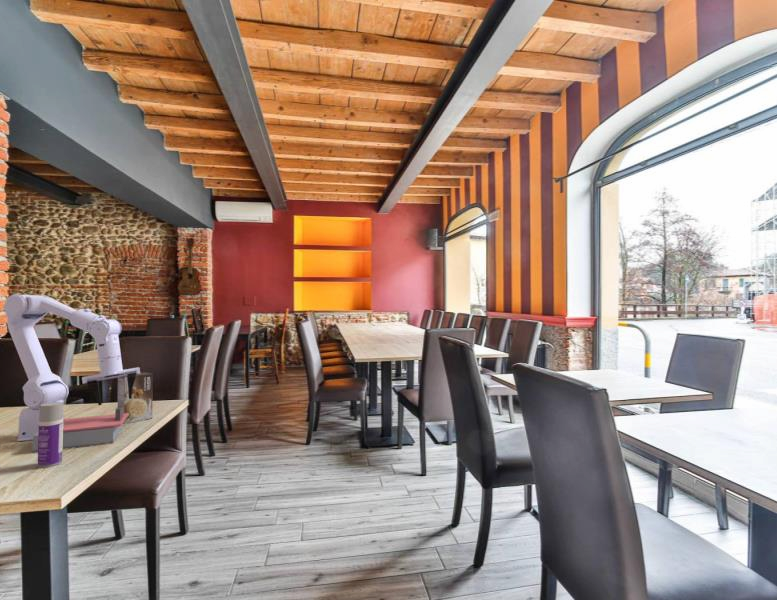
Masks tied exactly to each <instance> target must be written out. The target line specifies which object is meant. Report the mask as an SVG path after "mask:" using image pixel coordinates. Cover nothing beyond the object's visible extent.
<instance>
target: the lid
mask: <svg viewBox="0 0 777 600" xmlns="http://www.w3.org/2000/svg"><path fill="white" fill-rule="evenodd" d="M128 415H129V413H124V414H123V406H118V405H117V407H116V408H115V414H104V415H93V416H82V417H71V418H63V432H68V431H78V430H87V429H97V428H107V427H116V426H121V425H122V426H123V425H124V424H123V422H124V421H125V419H126V418H127V416H128Z"/></svg>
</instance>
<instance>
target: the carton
mask: <svg viewBox="0 0 777 600" xmlns="http://www.w3.org/2000/svg"><path fill="white" fill-rule="evenodd" d="M122 430H123V424H122V425H121V426H116V427H107V428H97V429H87V430H78V431H68V432H63V450H65V448H68V449H73V448H72V447H76V448H80V447H79V446H84V447H90V445H93V446H98V445H97V444H101V445H106V444H105V443H110V444H114V442H115V441H114V440H116V439H117V437H118V436H119V435H120V433H121V432H122ZM38 433H39V432H38ZM38 433H36V434H35V435H34V436H33V440H32V453H38Z"/></svg>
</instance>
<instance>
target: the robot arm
mask: <svg viewBox="0 0 777 600" xmlns="http://www.w3.org/2000/svg"><path fill="white" fill-rule="evenodd" d="M2 305H3V306H2V308H3V311H4V313H5V315H6V318H7V320H6V321H7V323H6V324H7V329H8V332H9V334H10V336H11V339H12V341H13V344H14V347H15V349H16V351H17V354H18V356H19V359H20V361H21V364H22V366H23V369H24V372H25V374H26V377H27V379H28V380H27V381H26V383H24V385H23V386H22V391H23V402H24V404H25V406H27V407H26V408H23V409H21V411H20V414H19V418H18V434H17V435H18V437H17V439H16V440H17V442H23V441H33V436H34V435H35V434H36V433H38V432H39V414H40V405H41V404H45V403H50V402H63V404H64V401H65V400H66V399H67V397H68V396H69V387H68V386H67V385H66V383H64V381H63V380H62V378H61V377H60V376H59V375H57V374H55V373H53V372H52V371H51V370H52V369H51V368H50V366H49V363H48V360H47V358H46V356H45V353H44V350H43V348H42V346H41V343H40V341H39V338H38V335H37V334H36V331H35V328H34V326H36V324H37V323H39V322H40V321H41V320H42V319H43V318H44V317H46V315H47V314H48V313H50V314H53V315H55V316H57V317H60V318H64V319H67V320H69V322H70V324H71V326H73V327H75V328H78V329H80V330H82V331H85V332H87V333H89V334H90V336H91V337H92V338H93V339H94V343H95V344H96V351H97V359H98V366H99V373H98V374H91V375H87V376H82V377H81V381H82V382H81V383H82V384H83V385H84V384H87V387H88V388H89V389H90V390H91V392H92V393H93V395H94V397H95V399H96V401H97V404H98V406H102V405H103V403H102V402H103V401H102V398H101V393H100V383H99V381H105V380H111V379H116V378H118V377H122V376H127V375H128V376H127V381H128V389H129V399H132V389H133V385H134V381H135V379H136V374H139V373H141V370H140V369H141V368H140V367H132V368H128V369H127V368H125V369H123V368H124V367H123V363H122V362H123V361H122V353H121V346H120V338H119V336H120V334H121V333H122V329H123V328H122V324H121V323H120V321H118V320H117V319H115V318H109V319H107V318H106V316H105V315H102V314H101V315H99V314H96V313H94V312H92V309H90V308H81V309H77V310H76V309H75V308H73V307H70V306H69V305H66V304H64V303H62V302H60V301H58V300H56V299H54V298H53V297H48V296H47V295H44V294H39V295H38V294H37V295H36V294H35V295H33V294H20V293H14V294H11V295H9V296H8V297H7V299H6V300H5V302H4V304H2Z"/></svg>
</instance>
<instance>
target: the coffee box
mask: <svg viewBox="0 0 777 600" xmlns="http://www.w3.org/2000/svg"><path fill="white" fill-rule="evenodd" d="M153 375H154V373H150V372H146V371H145V372H144V371H143V372H140V373H139V374H136V379H135V381H134V385H133V389H132V399H129V389H128V381H127V376H128V375H127V376H122V377H117V407H118V406H123V414H124V413H129V415H128V416H127V418H126V419H125V421H124V422H123V424H122V425H126V423H127V424H131V423H135V422H140V421H141V422H142V421H145V420H151V419H153V381H154V380H153Z"/></svg>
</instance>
